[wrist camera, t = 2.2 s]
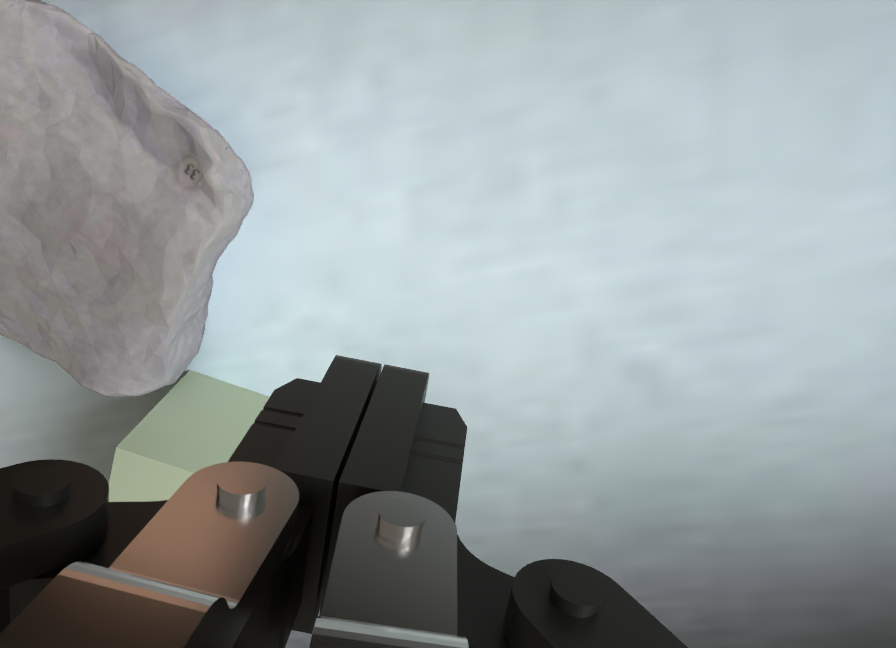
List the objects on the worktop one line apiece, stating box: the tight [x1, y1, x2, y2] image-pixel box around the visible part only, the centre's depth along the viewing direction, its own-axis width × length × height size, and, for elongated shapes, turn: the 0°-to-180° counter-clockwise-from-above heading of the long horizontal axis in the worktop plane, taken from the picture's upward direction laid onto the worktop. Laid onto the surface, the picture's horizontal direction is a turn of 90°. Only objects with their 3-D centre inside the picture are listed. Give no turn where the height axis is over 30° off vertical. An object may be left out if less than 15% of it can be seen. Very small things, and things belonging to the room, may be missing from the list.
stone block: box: [0, 0, 254, 397], centre depth 25 cm, size 12×5×10 cm
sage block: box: [109, 370, 270, 502], centre depth 27 cm, size 5×5×6 cm
